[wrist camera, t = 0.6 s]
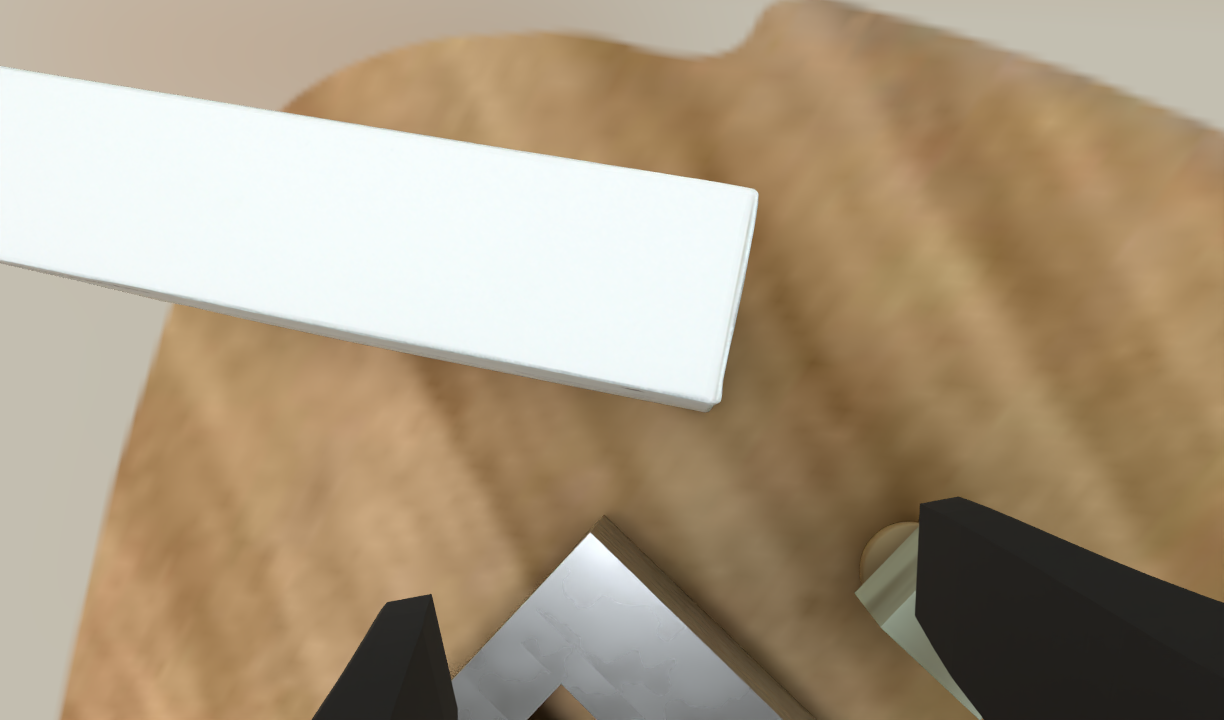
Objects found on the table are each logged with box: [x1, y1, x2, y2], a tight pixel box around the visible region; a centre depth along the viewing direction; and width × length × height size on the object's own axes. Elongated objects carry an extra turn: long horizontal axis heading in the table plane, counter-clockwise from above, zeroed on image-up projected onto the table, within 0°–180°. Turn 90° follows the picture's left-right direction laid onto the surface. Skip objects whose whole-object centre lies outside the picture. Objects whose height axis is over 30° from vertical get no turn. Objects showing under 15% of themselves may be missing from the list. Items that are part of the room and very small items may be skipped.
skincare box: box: [0, 66, 758, 412], centre depth 25 cm, size 21×5×16 cm, turn 79°
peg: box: [855, 522, 982, 720], centre depth 27 cm, size 4×4×7 cm
